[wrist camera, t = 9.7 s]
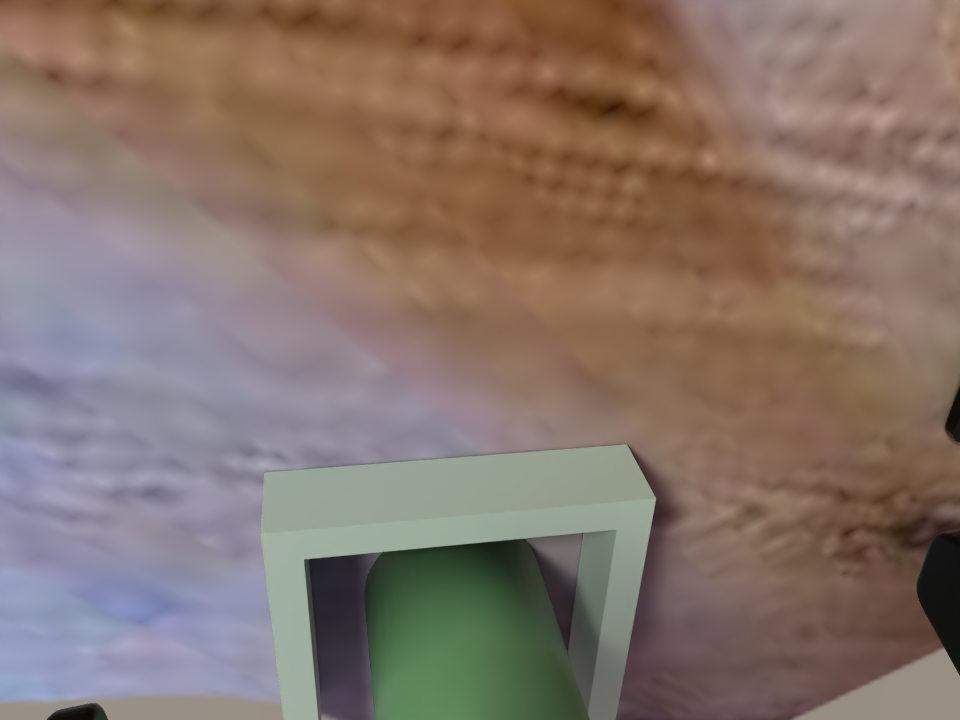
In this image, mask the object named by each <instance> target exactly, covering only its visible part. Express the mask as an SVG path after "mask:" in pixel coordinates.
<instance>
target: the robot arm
mask: <svg viewBox="0 0 960 720" xmlns="http://www.w3.org/2000/svg"><path fill="white" fill-rule="evenodd" d="M945 429H946V431H947V433H948V434H949V435H950V436H951V437H953V438H954V439H955V440H956V441H958V442H960V389H959V391H958V394H957V397H956V399H955V402H954V404H953V407H952V410H951V412H950V415H949V418H948V420H947V423H946V428H945ZM917 595H918V598H919V601H920V604H921V606H922V608H923V610H924V612H925V614H926V615H927V617H928V619H929V621H930V623H931V624H932V626H933V628H934V630H935V632H936V633H937V635H938V637H939V639H940V641H941V643H942V644H943V646H944V648H945V650H946V652H947V653H948V655H949V657H950V659H951V660H952V662H953V664H954V666H955V668H956V670H957V671H958V673H959V675H960V529H956V530H951V531H946V532H941V533H938V534H937V535H936V536H934V537H933V539H932V540H931V542H930V545H929V548H928V551H927V554H926V557H925V560H924V563H923V566H922V568H921V571H920V574H919V577H918V580H917ZM47 720H108V719H107V716H106V714H105V712H104V710H103V708H102V707H101V706H100V705H99V704H96V703H90V704H85V705H80V706H76V707H70V708H65V709H61V710H58V711H56V712H54V713H53V714H52V715H51V716H50V717H49V718H48V719H47Z"/></svg>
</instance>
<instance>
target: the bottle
mask: <svg viewBox="0 0 960 720" xmlns="http://www.w3.org/2000/svg"><path fill="white" fill-rule="evenodd" d="M364 599H365V611H366V622H367V634H368V645H369V657H370V668H371V679H372V691H373V702H374V714H375V720H590V719H589V716H588V713H587V710H586V707H585V704H584V701H583V698H582V695H581V692H580V689H579V686H578V683H577V680H576V677H575V674H574V671H573V668H572V665H571V662H570V659H569V656H568V653H567V650H566V647H565V644H564V641H563V638H562V635H561V632H560V629H559V626H558V622H557V619H556V616H555V613H554V610H553V607H552V604H551V601H550V598H549V595H548V592H547V589H546V586H545V583H544V580H543V577H542V574H541V571H540V568H539V565H538V562H537V559H536V557H535V554H534V552H533V550H532V549H531V547H530V546H529V544H528V543H527V542H526V541H525V540H524V539H513V540H503V541H492V542H482V543H471V544H461V545H450V546H440V547H429V548H419V549H408V550H398V551H387V552H383V553H382V554H381V555H380V556H379V557H378V559H377V560H376V561H375V563H374V564H373V566H372V568H371V569H370V572H369V574H368V576H367V579H366V583H365V590H364Z"/></svg>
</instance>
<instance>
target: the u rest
mask: <svg viewBox="0 0 960 720" xmlns="http://www.w3.org/2000/svg"><path fill="white" fill-rule="evenodd" d="M655 502H656V497H655V495H654V494H653V492H652V490H651V488H650V486H649V484H648V482H647V481H646V479H645V477H644V475H643V473H642V471H641V470H640V468H639V466H638V464H637V462H636V460H635V458H634V457H633V455H632V453H631V451H630V449H629V447H628V445H627V444H625V445H612V446H599V447H587V448H574V449H561V450H548V451H535V452H522V453H509V454H496V455H484V456H471V457H458V458H445V459H432V460H419V461H406V462H393V463H381V464H368V465H355V466H342V467H329V468H316V469H303V470H290V471H278V472H265V473H264V488H263V505H262V522H261V539H262V548H263V556H264V564H265V572H266V580H267V589H268V597H269V605H270V613H271V621H272V629H273V638H274V646H275V654H276V662H277V670H278V679H279V687H280V695H281V703H282V711H283V719H284V720H321V693H320V681H319V670H318V658H317V646H316V635H315V623H314V612H313V600H312V588H311V577H310V565H309V559H313V558H324V557H335V556H345V555H356V554H366V553H377V552H387V551H398V550H408V549H419V548H429V547H440V546H450V545H461V544H471V543H482V542H492V541H503V540H513V539H524V538H534V537H545V536H555V535H566V534H576V533H583V539H582V547H581V555H580V562H579V570H578V578H577V585H576V593H575V601H574V608H573V616H572V624H571V631H570V639H569V647H568V656H569V659H570V662H571V665H572V668H573V671H574V674H575V677H576V680H577V683H578V686H579V689H580V692H581V695H582V698H583V701H584V704H585V707H586V710H587V713H588V716H589V719H590V720H616V716H617V710H618V705H619V699H620V694H621V688H622V683H623V677H624V672H625V666H626V661H627V655H628V650H629V644H630V639H631V633H632V628H633V623H634V617H635V612H636V606H637V601H638V595H639V590H640V584H641V579H642V573H643V568H644V562H645V557H646V551H647V546H648V540H649V535H650V529H651V524H652V519H653V513H654V508H655Z"/></svg>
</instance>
